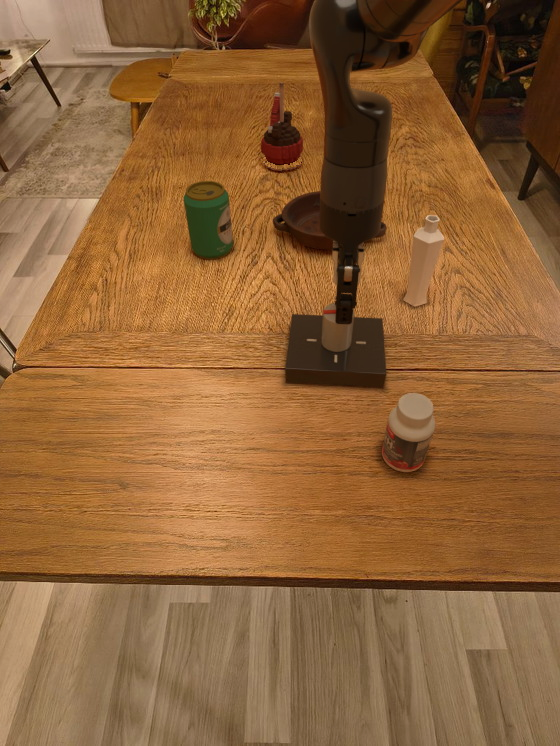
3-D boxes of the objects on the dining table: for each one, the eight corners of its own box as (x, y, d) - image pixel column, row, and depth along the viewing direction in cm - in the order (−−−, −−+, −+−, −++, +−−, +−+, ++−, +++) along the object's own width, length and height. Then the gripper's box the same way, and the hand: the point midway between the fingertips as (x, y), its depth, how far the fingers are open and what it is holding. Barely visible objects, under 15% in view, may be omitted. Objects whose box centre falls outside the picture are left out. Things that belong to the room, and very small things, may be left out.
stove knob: (349, 331, 77) (352, 300, 73) (353, 351, 74) (356, 320, 70) (319, 332, 77) (321, 301, 73) (322, 352, 74) (324, 321, 70)
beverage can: (222, 264, 95) (216, 203, 87) (184, 256, 97) (174, 196, 89) (240, 242, 100) (235, 183, 92) (203, 235, 102) (195, 176, 94)
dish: (278, 209, 109) (278, 187, 105) (384, 214, 107) (387, 191, 103) (267, 255, 97) (266, 231, 93) (385, 261, 95) (389, 237, 91)
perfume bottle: (397, 292, 88) (412, 211, 78) (422, 290, 89) (440, 209, 78) (405, 308, 85) (421, 227, 74) (430, 306, 85) (450, 225, 75)
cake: (294, 176, 120) (294, 92, 107) (256, 171, 122) (252, 88, 109) (307, 158, 127) (309, 77, 114) (271, 153, 129) (269, 73, 116)
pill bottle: (372, 455, 65) (382, 404, 58) (398, 431, 67) (411, 380, 60) (407, 481, 62) (421, 432, 55) (433, 456, 65) (450, 405, 58)
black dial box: (380, 332, 81) (382, 317, 79) (383, 388, 73) (386, 373, 71) (291, 328, 82) (291, 312, 80) (285, 383, 74) (285, 367, 72)
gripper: (322, 165, 65) (319, 272, 77) (317, 223, 56) (314, 335, 67) (382, 166, 65) (369, 274, 76) (387, 225, 55) (372, 338, 67)
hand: (343, 302), depth 72 cm, fingers open, 8 cm apart
